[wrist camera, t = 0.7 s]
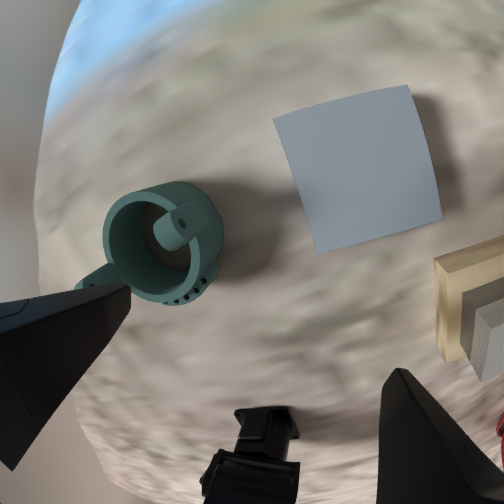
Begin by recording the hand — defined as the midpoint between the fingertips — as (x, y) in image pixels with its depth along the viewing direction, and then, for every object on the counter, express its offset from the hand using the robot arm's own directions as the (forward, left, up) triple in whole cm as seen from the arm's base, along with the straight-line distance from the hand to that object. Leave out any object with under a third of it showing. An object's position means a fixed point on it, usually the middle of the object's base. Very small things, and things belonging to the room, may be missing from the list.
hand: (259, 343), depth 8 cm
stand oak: (-10, -15, -14) cm, 23 cm away
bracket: (+2, +9, -14) cm, 17 cm away
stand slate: (+3, -6, -14) cm, 15 cm away
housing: (-10, -15, -11) cm, 21 cm away
